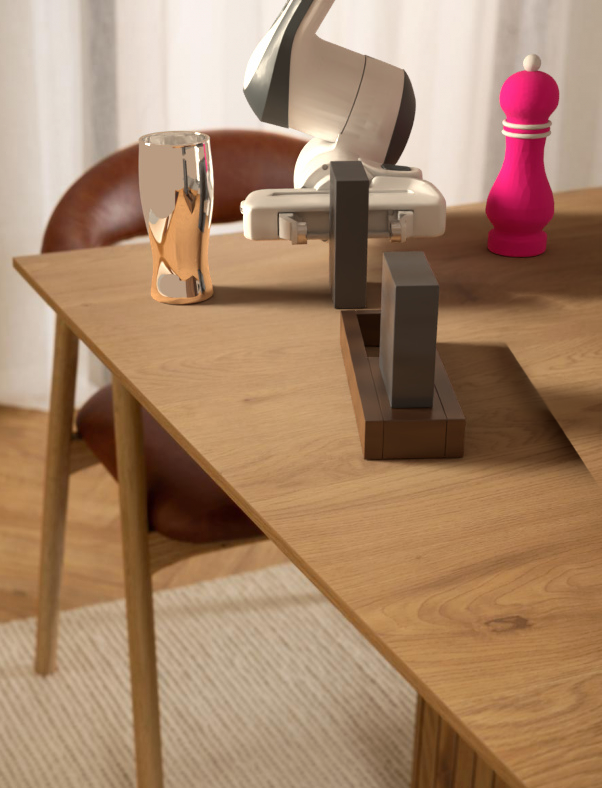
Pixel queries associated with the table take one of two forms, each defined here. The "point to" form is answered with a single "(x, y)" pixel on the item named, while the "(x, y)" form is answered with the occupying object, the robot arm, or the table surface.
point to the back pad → (348, 233)
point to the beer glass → (177, 212)
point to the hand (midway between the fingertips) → (349, 235)
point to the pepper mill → (523, 164)
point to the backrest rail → (396, 421)
